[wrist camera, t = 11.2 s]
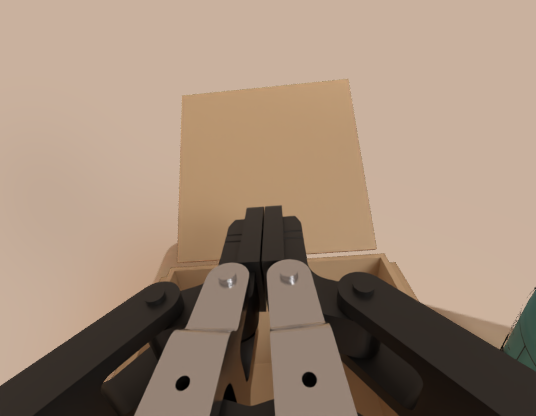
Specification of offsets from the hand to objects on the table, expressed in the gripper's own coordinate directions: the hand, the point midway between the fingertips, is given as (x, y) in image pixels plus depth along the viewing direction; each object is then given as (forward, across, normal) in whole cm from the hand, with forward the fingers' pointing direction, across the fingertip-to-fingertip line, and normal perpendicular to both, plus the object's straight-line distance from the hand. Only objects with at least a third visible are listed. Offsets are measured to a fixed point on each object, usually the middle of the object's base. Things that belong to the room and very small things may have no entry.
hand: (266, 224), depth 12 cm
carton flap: (+11, 0, +1) cm, 11 cm away
